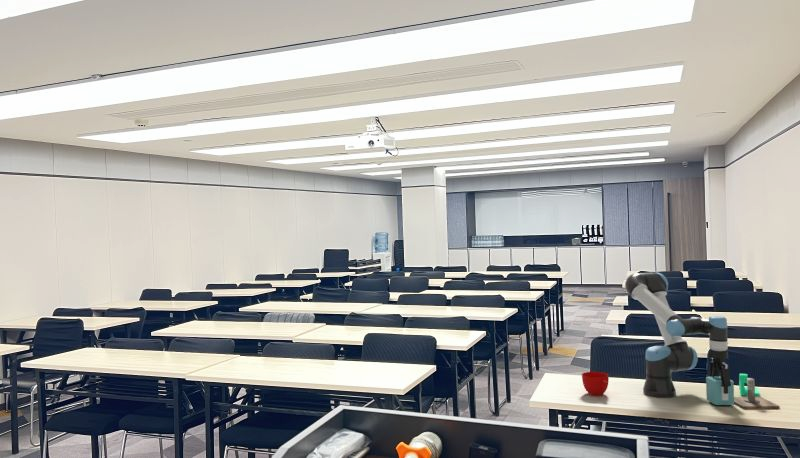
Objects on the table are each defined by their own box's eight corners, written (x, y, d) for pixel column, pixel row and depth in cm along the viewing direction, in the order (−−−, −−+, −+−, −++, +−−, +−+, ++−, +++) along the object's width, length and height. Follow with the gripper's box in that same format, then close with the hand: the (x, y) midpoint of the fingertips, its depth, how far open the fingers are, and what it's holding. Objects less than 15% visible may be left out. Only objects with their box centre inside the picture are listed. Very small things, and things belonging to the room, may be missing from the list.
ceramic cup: (595, 400, 278) (594, 380, 279) (577, 392, 295) (577, 372, 295) (619, 398, 281) (618, 378, 281) (600, 389, 298) (599, 370, 298)
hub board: (743, 409, 259) (742, 383, 259) (725, 399, 274) (724, 375, 275) (779, 408, 258) (778, 383, 258) (759, 398, 274) (758, 374, 274)
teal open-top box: (715, 405, 263) (714, 380, 263) (706, 399, 272) (705, 376, 272) (734, 404, 263) (733, 380, 263) (724, 399, 271) (724, 375, 271)
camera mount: (759, 399, 274) (758, 377, 274) (741, 397, 277) (740, 376, 277) (757, 392, 285) (756, 372, 285) (739, 391, 288) (738, 371, 288)
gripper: (739, 354, 257) (740, 404, 256) (715, 344, 278) (716, 390, 278) (721, 354, 257) (723, 404, 257) (699, 344, 278) (701, 390, 278)
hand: (720, 397), depth 267 cm, fingers closed on teal open-top box, 8 cm apart
